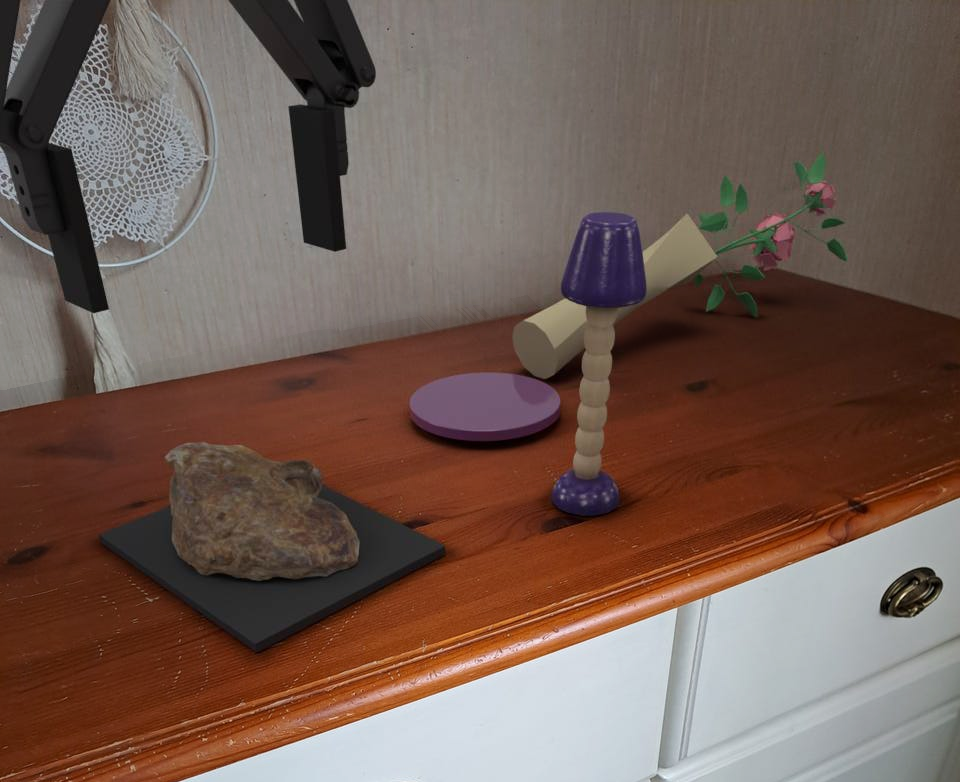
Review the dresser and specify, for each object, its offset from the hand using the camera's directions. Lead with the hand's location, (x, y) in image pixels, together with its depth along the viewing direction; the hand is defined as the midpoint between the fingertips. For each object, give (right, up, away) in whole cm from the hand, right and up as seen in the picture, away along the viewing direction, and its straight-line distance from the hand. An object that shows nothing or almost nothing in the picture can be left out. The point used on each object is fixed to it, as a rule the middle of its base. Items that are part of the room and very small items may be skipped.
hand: (215, 274), depth 48 cm
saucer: (+13, -2, +23) cm, 27 cm away
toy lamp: (+20, -10, +13) cm, 25 cm away
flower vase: (+30, +9, +38) cm, 50 cm away
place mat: (+1, -13, +9) cm, 15 cm away
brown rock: (+1, -12, +9) cm, 15 cm away
